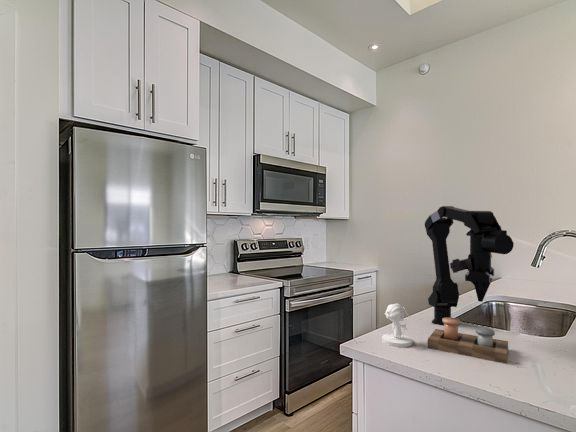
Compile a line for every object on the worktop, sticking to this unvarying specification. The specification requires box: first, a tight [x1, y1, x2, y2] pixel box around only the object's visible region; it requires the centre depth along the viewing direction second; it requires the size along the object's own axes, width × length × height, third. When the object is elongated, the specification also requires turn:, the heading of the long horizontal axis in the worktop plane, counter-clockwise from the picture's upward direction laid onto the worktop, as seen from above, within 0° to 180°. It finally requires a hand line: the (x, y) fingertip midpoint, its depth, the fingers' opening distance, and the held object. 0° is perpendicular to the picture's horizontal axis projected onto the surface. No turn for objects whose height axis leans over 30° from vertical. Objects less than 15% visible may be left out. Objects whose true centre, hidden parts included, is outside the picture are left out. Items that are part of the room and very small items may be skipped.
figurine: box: [381, 303, 414, 348], centre depth 108 cm, size 9×9×12 cm
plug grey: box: [475, 327, 496, 348], centre depth 99 cm, size 5×5×6 cm
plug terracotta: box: [442, 317, 461, 341], centre depth 104 cm, size 5×5×6 cm
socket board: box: [427, 328, 509, 365], centre depth 102 cm, size 12×20×2 cm, turn 56°
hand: (480, 301), depth 107 cm, fingers closed
